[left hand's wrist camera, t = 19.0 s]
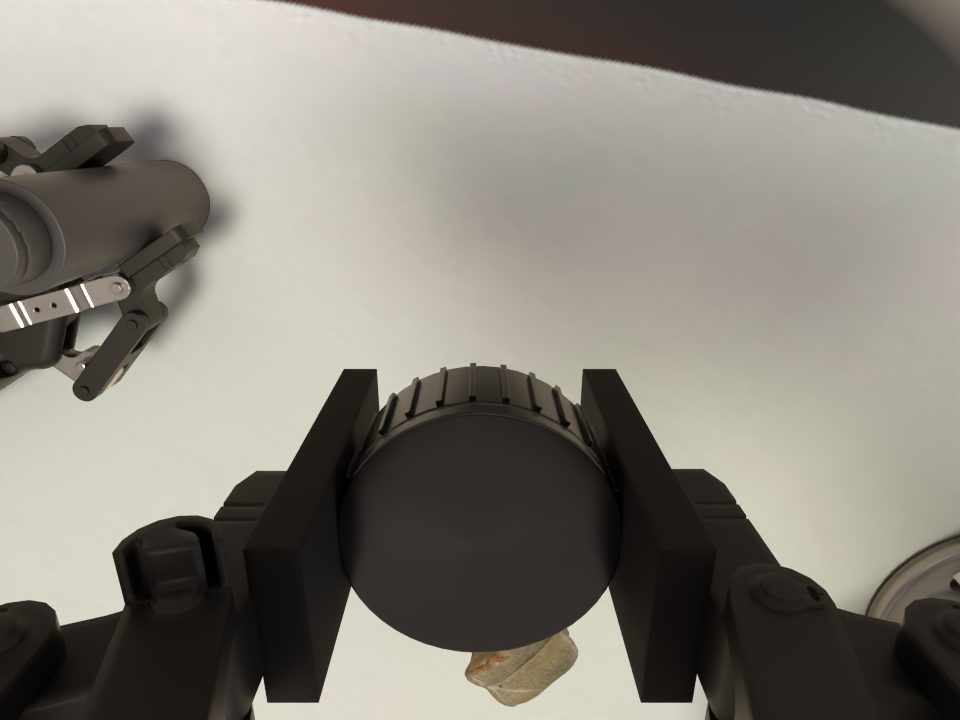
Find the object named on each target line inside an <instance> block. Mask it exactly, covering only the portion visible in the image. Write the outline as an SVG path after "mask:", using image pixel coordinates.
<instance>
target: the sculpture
mask: <svg viewBox="0 0 960 720" xmlns="http://www.w3.org/2000/svg"><path fill="white" fill-rule="evenodd" d="M577 657H578V650H577V647H576V645H575V644H574V642H573V640H572V639H571V638H570V637H569V632H568V630H567V628H566V629H564V630H563V631H561V632H559V633H558V634H555V635H553V636H551V637H549V638H547V639H545V640H543V641H540V642H537V643H534V644H531V645H529V646H525V647H521V648H517V649H512V650H506V651H499V652H483V653H474V652H472V657H471V661H470V664H469V665H468V667H467V669H466V671H465V676H466V678H467V680H468V681H470V682H471V683H473V684H475V685H477V686H480V687H484V688H486V689H487V690H488V691H489V692H490V694H491V695H492V696H493V697H494V698H495V699H496V700H497V701H498V702H500V703H502V704H503V705H506V706H511V707H514V706H516V705H518V704H521V703H525V702H528V701H529V700H531V699H533V698H535V697H536V696H538V695H539V694H540V693H542V692H543V691H544V690H545V689H546V688H547V687H548V686H550V685H551V684H552V683H553V682H554V681H555V680H557V679H558V678H559V677H561V676H562V675H563V674H565V673H566V672H567V671H568V670H569V669H570V668H571V667H572V666H573V664H574V663H575V661H576V659H577Z"/></svg>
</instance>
